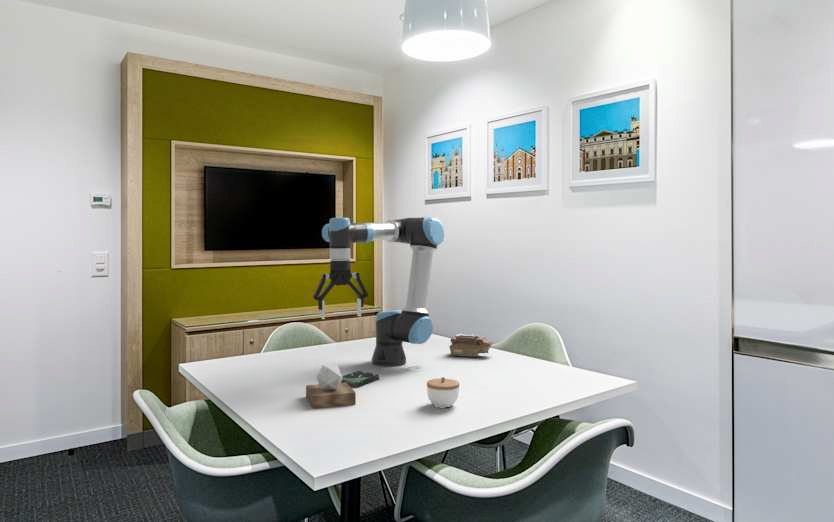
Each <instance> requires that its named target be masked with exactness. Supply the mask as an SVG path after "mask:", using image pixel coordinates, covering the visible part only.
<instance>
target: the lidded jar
mask: <svg viewBox="0 0 834 522" xmlns="http://www.w3.org/2000/svg"><path fill="white" fill-rule="evenodd" d="M426 393H427V397H428V400H429V401H430V403H431V404H432V405H433V407H434V406H437V407H449V406H452V407H453V405H454V404H455V403H456V402H457V401H458V398H459V393H460V382H459V380H456V379H453V378H445V377H444V376H441V377H439V378H433V379H429V380H427V381H426ZM437 407H436V408H437Z"/></svg>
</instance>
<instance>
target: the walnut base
mask: <svg viewBox="0 0 834 522" xmlns="http://www.w3.org/2000/svg"><path fill="white" fill-rule="evenodd" d="M356 393H357V392H356V391H355V389H353V387H350V386H349V385H348V384H347V383H346V382H342V383H340V384H339V386H338V388H337V390H321V388H320V385H319V383H318V384H306V385H305V397H306V399H307V401H308V403H309V404H310V406H311V407H312V409H321V408H334V407H344V406H345V407H346V406H354V405H356V402H357V401H356V399H357V397H356Z"/></svg>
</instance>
